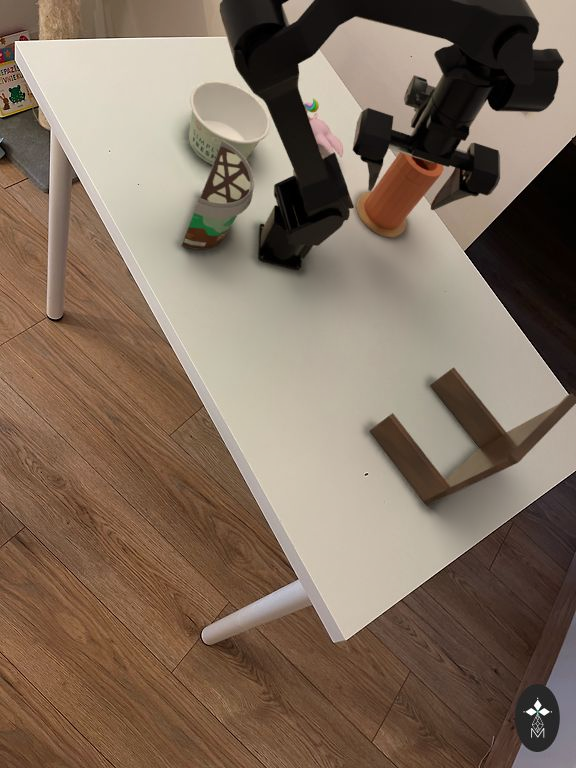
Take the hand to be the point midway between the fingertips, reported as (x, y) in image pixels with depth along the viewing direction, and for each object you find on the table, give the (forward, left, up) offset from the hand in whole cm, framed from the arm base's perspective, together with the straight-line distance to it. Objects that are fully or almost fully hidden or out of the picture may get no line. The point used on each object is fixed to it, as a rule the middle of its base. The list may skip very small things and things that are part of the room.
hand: (401, 198), depth 82 cm
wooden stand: (+9, -30, -12) cm, 33 cm away
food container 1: (-23, +13, -12) cm, 30 cm away
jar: (+5, +9, -12) cm, 16 cm away
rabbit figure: (-8, +22, -12) cm, 27 cm away
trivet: (+5, +9, -12) cm, 16 cm away
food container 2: (-23, -4, -12) cm, 27 cm away
